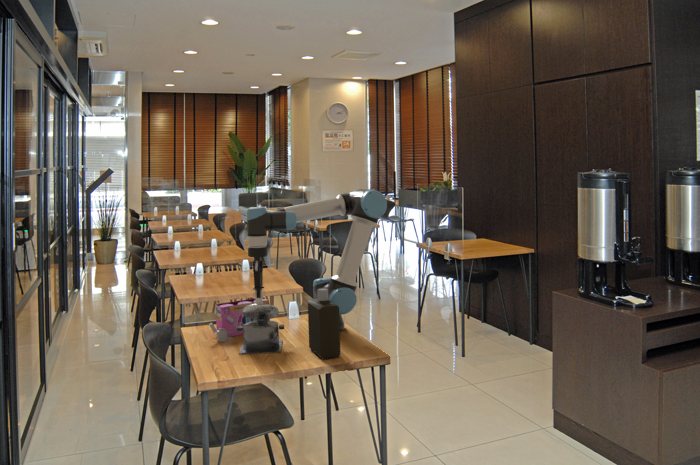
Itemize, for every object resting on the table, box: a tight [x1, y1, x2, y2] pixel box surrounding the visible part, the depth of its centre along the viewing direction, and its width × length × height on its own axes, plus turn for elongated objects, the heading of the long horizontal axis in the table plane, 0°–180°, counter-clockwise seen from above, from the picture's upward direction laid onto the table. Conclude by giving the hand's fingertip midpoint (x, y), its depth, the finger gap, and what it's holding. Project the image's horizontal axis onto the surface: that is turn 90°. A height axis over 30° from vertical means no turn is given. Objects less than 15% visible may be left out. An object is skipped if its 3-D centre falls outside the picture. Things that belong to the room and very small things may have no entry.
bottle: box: [307, 288, 341, 361], centre depth 213 cm, size 8×16×25 cm, turn 22°
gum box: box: [215, 297, 271, 338], centre depth 246 cm, size 24×8×14 cm, turn 123°
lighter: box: [208, 322, 228, 342], centre depth 233 cm, size 7×2×8 cm, turn 104°
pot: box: [237, 319, 285, 355], centre depth 224 cm, size 19×18×9 cm
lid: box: [243, 303, 280, 320], centre depth 224 cm, size 14×15×3 cm
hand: (259, 305), depth 220 cm, fingers closed
